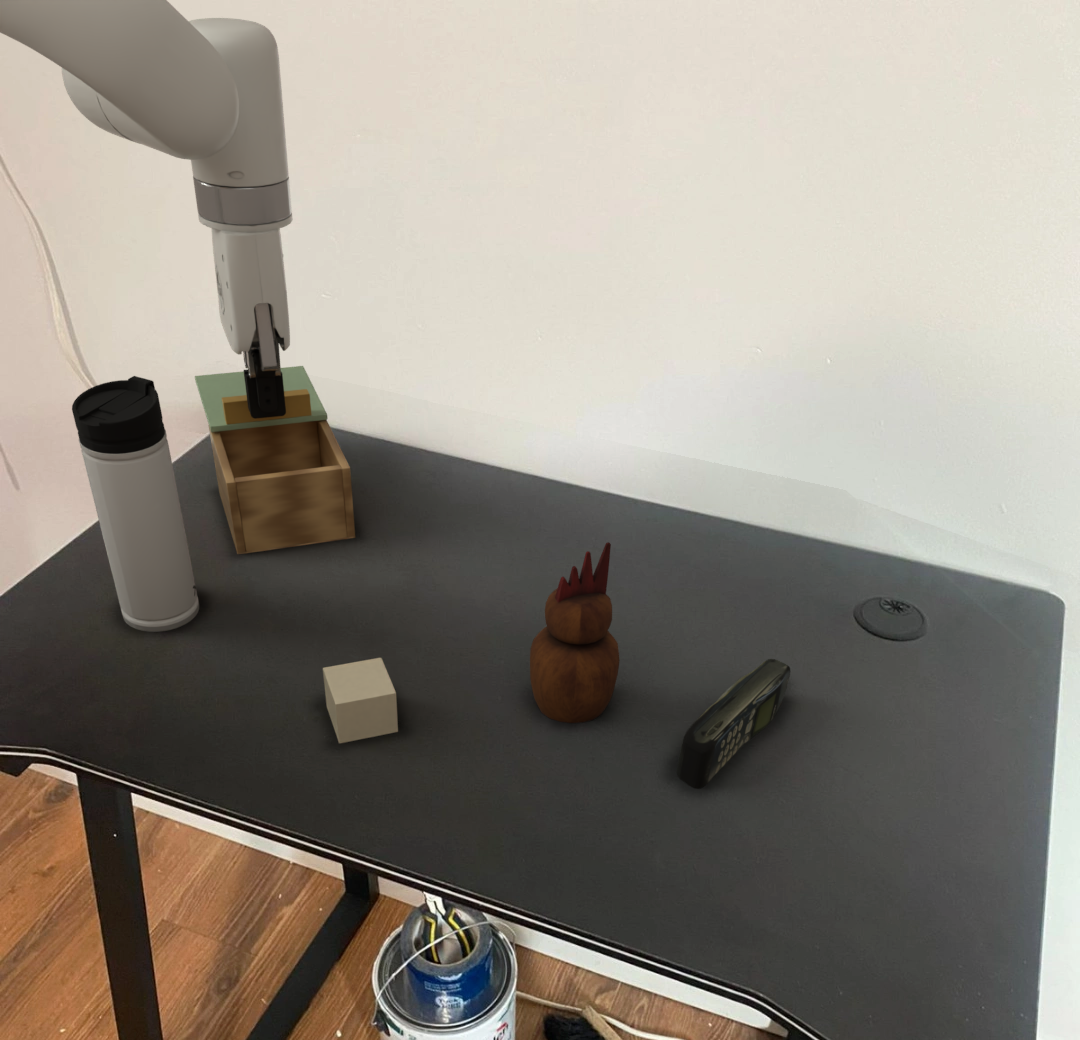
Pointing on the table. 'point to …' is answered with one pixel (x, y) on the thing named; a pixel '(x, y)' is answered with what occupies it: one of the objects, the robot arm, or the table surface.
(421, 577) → the table surface
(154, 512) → the travel mug
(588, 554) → the wooden figurine
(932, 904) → the table surface
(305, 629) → the table surface
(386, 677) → the cream block
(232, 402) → the slide door
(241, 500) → the oak box
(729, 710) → the mobile phone
